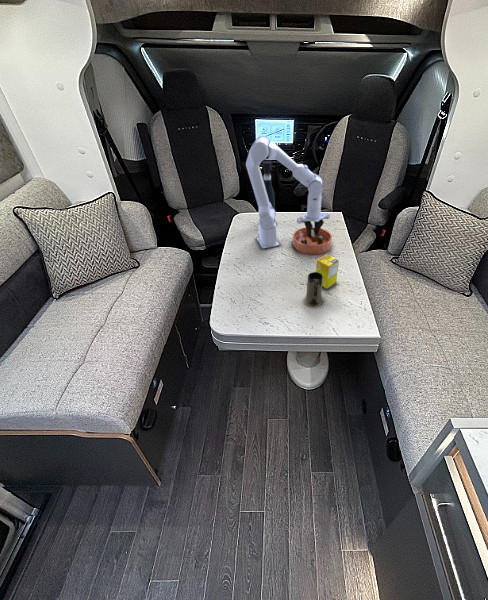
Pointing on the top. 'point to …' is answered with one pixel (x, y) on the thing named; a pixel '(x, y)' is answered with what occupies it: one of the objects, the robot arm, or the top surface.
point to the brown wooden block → (313, 237)
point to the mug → (314, 289)
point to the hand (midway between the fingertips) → (312, 235)
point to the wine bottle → (268, 183)
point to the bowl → (310, 246)
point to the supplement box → (327, 270)
